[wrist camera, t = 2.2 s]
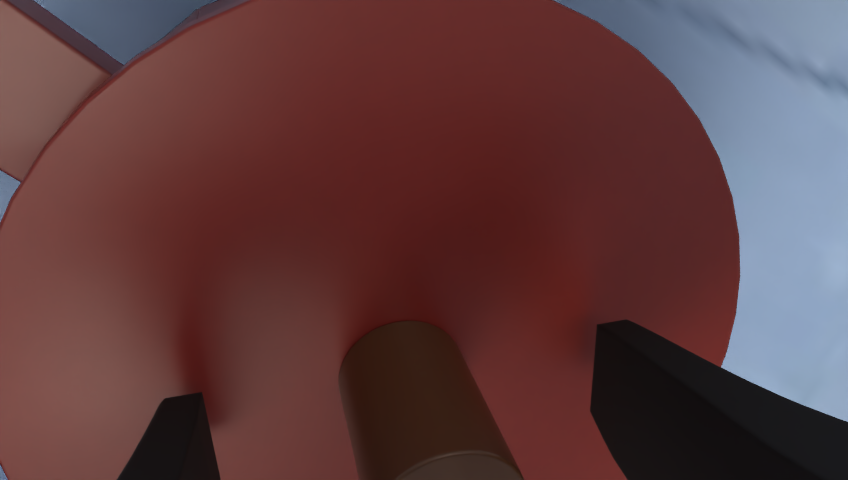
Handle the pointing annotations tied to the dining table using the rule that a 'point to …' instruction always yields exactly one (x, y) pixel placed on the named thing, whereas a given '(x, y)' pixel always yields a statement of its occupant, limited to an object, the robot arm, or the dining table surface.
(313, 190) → the pot lid
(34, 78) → the pot
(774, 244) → the dining table surface
